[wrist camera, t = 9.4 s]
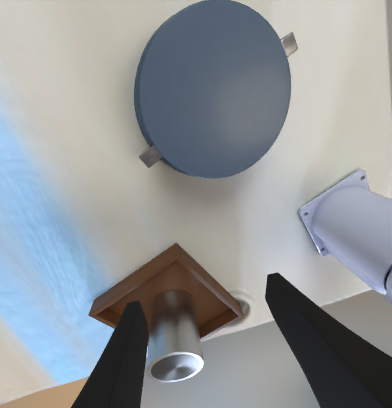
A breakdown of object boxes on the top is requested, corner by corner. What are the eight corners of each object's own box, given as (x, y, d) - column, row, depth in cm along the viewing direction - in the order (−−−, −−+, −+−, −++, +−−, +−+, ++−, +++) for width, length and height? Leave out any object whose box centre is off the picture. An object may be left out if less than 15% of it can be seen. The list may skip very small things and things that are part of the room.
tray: (239, 302, 28) (244, 315, 26) (171, 343, 30) (171, 358, 28) (176, 242, 21) (177, 254, 19) (93, 300, 23) (87, 315, 21)
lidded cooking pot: (290, 119, 17) (334, 120, 12) (185, 196, 19) (191, 222, 14) (231, -29, 12) (269, -112, 8) (98, 94, 14) (66, 84, 10)
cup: (202, 303, 26) (214, 364, 19) (170, 323, 27) (171, 387, 20) (176, 283, 23) (180, 344, 17) (142, 305, 24) (133, 372, 18)
